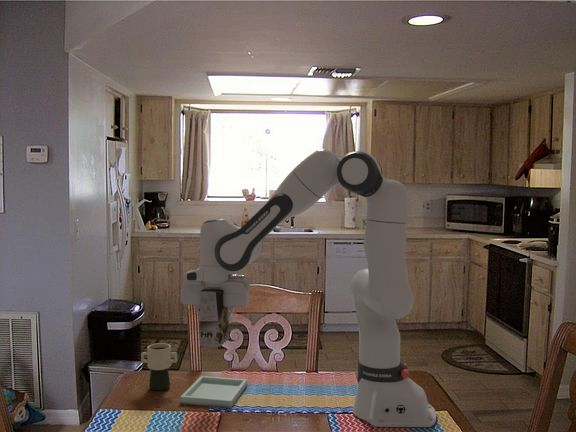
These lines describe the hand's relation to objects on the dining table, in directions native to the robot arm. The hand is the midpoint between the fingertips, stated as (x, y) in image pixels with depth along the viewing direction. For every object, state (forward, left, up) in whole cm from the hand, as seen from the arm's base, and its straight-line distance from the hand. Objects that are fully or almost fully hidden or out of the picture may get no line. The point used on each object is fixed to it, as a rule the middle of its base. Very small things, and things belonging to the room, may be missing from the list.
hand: (215, 320), depth 171 cm
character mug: (+18, -1, -23) cm, 29 cm away
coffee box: (0, 0, -7) cm, 7 cm away
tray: (0, 0, -22) cm, 22 cm away
